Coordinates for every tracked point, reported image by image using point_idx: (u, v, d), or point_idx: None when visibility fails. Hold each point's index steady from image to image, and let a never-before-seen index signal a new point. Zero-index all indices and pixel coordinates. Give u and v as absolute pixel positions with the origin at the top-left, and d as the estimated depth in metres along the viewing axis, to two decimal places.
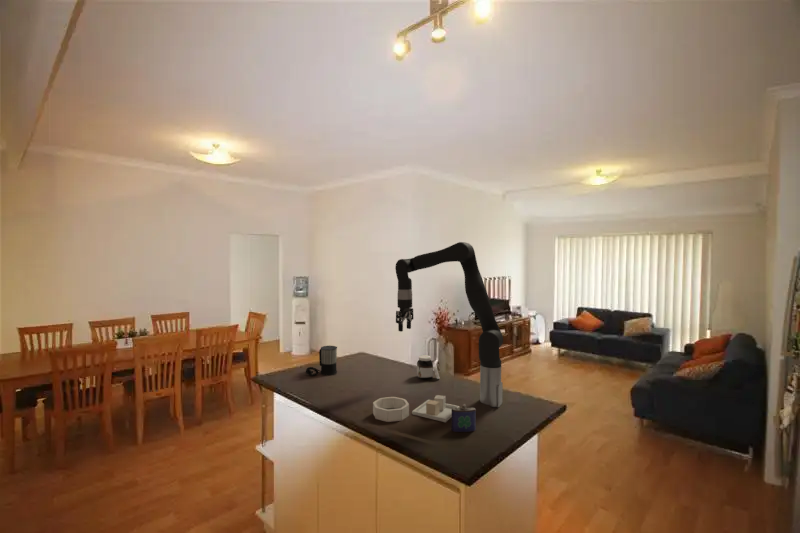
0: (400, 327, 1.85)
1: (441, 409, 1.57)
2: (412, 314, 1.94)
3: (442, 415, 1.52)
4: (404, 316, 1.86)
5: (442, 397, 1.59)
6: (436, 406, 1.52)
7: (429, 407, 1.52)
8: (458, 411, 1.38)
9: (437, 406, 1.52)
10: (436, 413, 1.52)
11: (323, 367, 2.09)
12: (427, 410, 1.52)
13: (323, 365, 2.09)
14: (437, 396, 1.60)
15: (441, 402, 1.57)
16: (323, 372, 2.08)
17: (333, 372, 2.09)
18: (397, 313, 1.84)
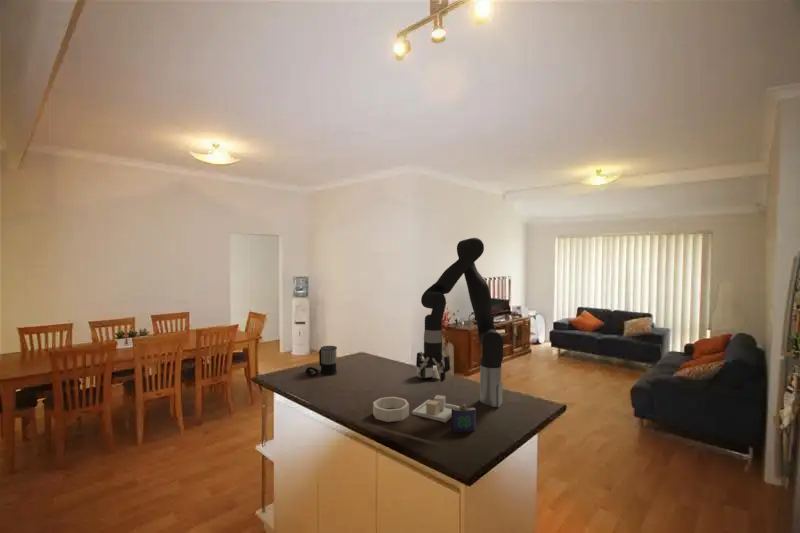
0: None
1: (441, 409, 1.57)
2: None
3: (442, 415, 1.52)
4: (441, 361, 1.53)
5: (442, 397, 1.59)
6: (436, 406, 1.52)
7: (429, 407, 1.52)
8: (458, 411, 1.38)
9: (437, 406, 1.52)
10: (436, 413, 1.52)
11: (322, 368, 2.09)
12: (427, 410, 1.52)
13: (323, 365, 2.08)
14: (437, 396, 1.60)
15: (441, 402, 1.57)
16: (323, 372, 2.08)
17: (333, 372, 2.09)
18: (447, 359, 1.49)
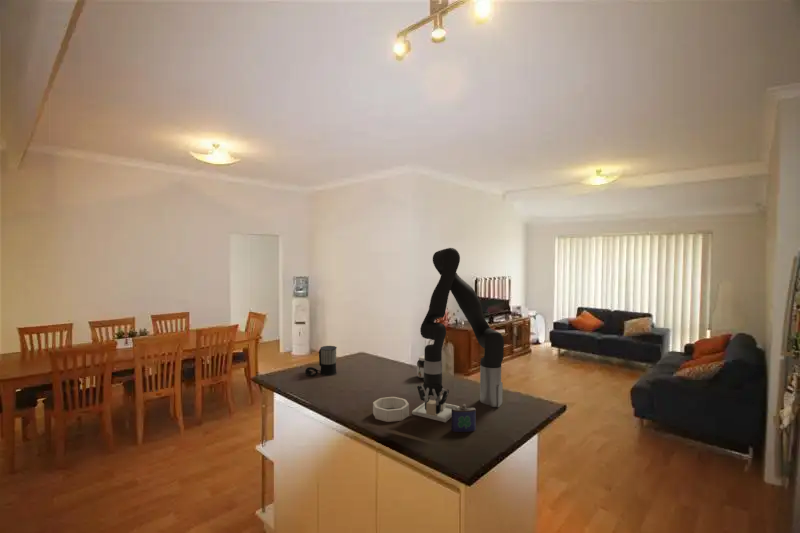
0: (440, 408, 1.52)
1: (441, 409, 1.57)
2: (423, 391, 1.57)
3: (442, 415, 1.52)
4: (439, 393, 1.53)
5: None
6: None
7: (429, 407, 1.52)
8: (458, 411, 1.38)
9: None
10: None
11: (322, 368, 2.08)
12: (427, 410, 1.52)
13: (323, 365, 2.08)
14: None
15: None
16: (322, 372, 2.08)
17: (333, 372, 2.09)
18: (446, 394, 1.50)
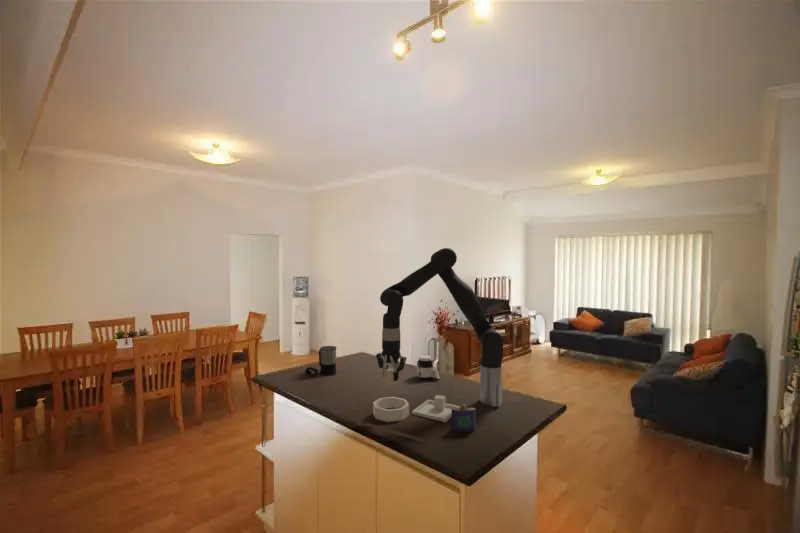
0: (398, 375, 1.52)
1: (441, 409, 1.57)
2: (382, 359, 1.57)
3: (442, 415, 1.52)
4: None
5: (442, 397, 1.59)
6: None
7: (386, 374, 1.52)
8: (458, 411, 1.38)
9: None
10: None
11: (322, 368, 2.08)
12: (385, 377, 1.52)
13: (322, 365, 2.08)
14: (437, 396, 1.60)
15: (441, 402, 1.57)
16: (322, 373, 2.08)
17: (332, 372, 2.09)
18: (404, 361, 1.50)
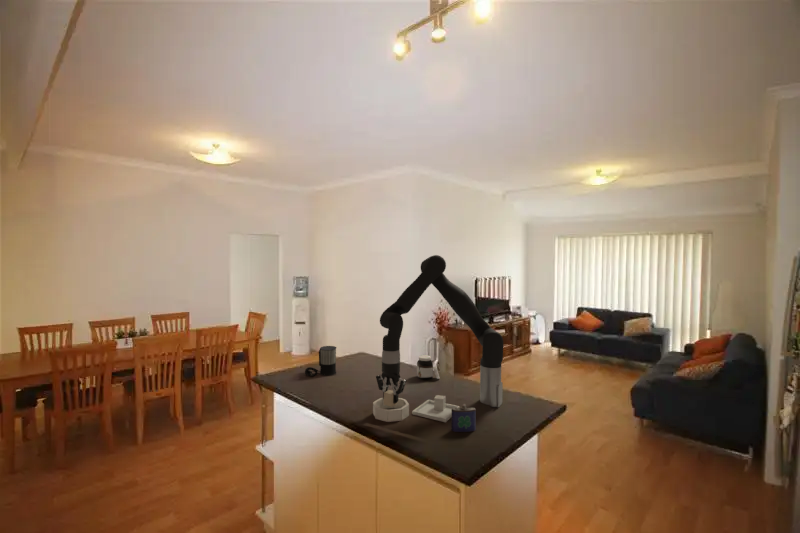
0: None
1: (441, 409, 1.57)
2: (382, 381, 1.57)
3: (442, 415, 1.52)
4: (397, 383, 1.54)
5: (442, 397, 1.59)
6: None
7: (386, 396, 1.52)
8: (458, 411, 1.38)
9: None
10: (393, 403, 1.52)
11: (322, 368, 2.08)
12: (385, 400, 1.53)
13: (322, 365, 2.08)
14: (437, 396, 1.60)
15: (441, 402, 1.57)
16: (322, 373, 2.08)
17: (332, 372, 2.09)
18: (403, 383, 1.50)
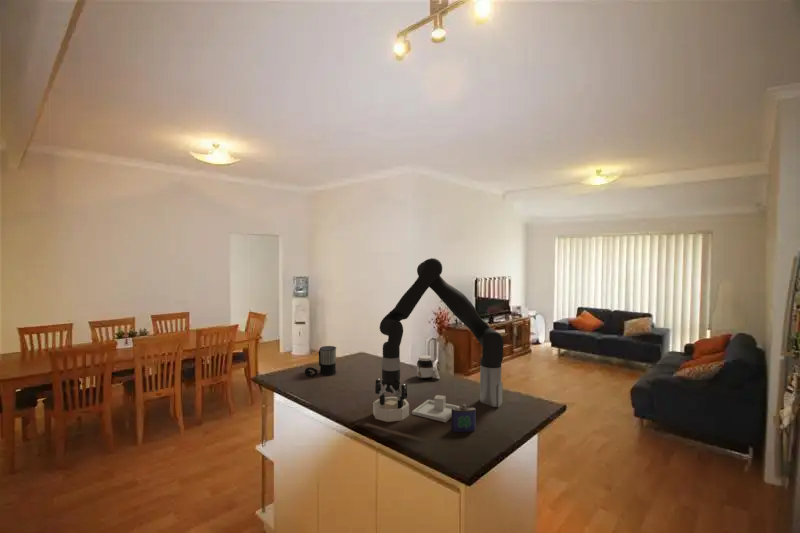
0: (402, 403, 1.51)
1: (441, 409, 1.57)
2: (380, 385, 1.58)
3: (442, 415, 1.52)
4: (399, 388, 1.53)
5: (442, 397, 1.59)
6: (394, 406, 1.52)
7: (387, 407, 1.52)
8: (458, 411, 1.38)
9: (395, 406, 1.53)
10: None
11: (322, 368, 2.08)
12: None
13: (322, 365, 2.08)
14: (437, 396, 1.60)
15: (441, 402, 1.57)
16: (322, 373, 2.08)
17: (332, 372, 2.08)
18: (405, 387, 1.50)
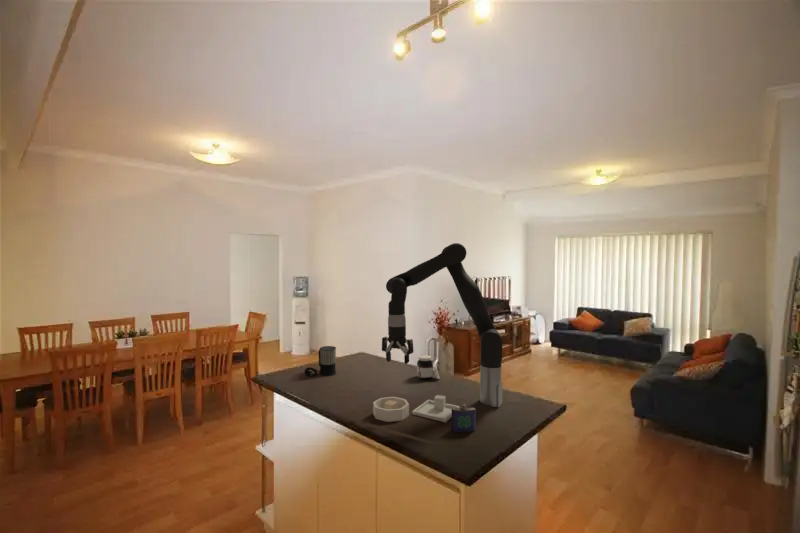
0: None
1: (441, 409, 1.57)
2: (386, 343, 1.63)
3: (442, 415, 1.52)
4: (405, 345, 1.59)
5: (442, 397, 1.59)
6: (394, 406, 1.52)
7: (387, 407, 1.52)
8: (458, 411, 1.38)
9: (395, 406, 1.53)
10: None
11: (321, 368, 2.08)
12: None
13: (322, 365, 2.08)
14: (437, 396, 1.60)
15: (441, 402, 1.57)
16: (322, 373, 2.08)
17: (332, 373, 2.08)
18: (411, 342, 1.56)
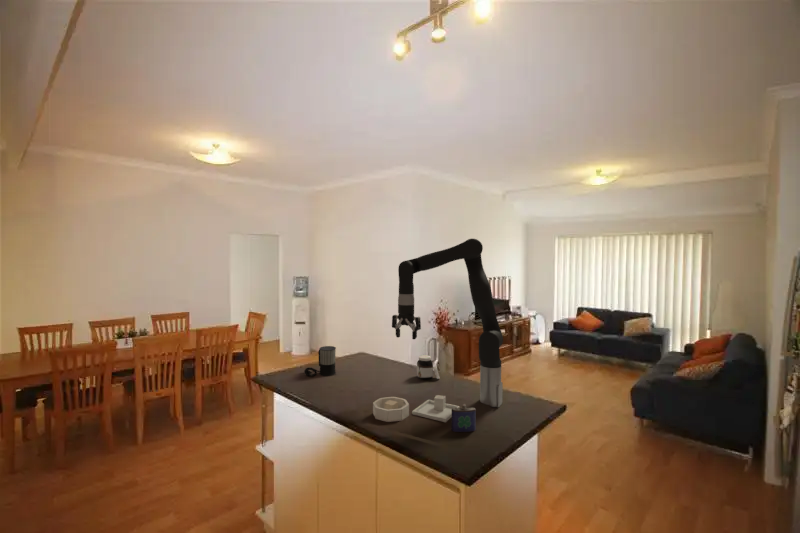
0: (416, 334, 1.71)
1: (441, 409, 1.57)
2: None
3: (442, 415, 1.52)
4: (413, 322, 1.73)
5: (442, 397, 1.59)
6: (394, 406, 1.52)
7: (387, 407, 1.52)
8: (458, 411, 1.38)
9: (395, 406, 1.53)
10: None
11: (321, 368, 2.08)
12: None
13: (322, 366, 2.08)
14: (437, 396, 1.60)
15: (441, 402, 1.57)
16: (321, 373, 2.07)
17: (332, 373, 2.08)
18: (418, 319, 1.70)
